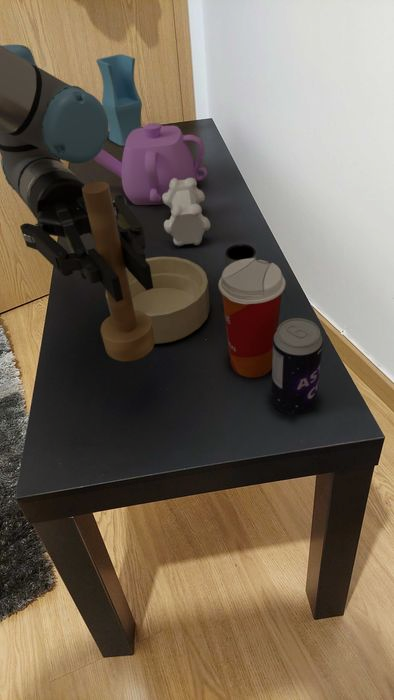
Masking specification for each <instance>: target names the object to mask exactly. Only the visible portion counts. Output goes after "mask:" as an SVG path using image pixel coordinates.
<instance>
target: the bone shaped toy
mask: <svg viewBox="0 0 394 700" xmlns="http://www.w3.org/2000/svg"><path fill="white" fill-rule="evenodd" d="M197 184H198V181H197V180H195V179H194V178H187V179H186V180H178V179H176V178H173V179H172V180H171V181H170V184H169V190H168V192H167V193H164V194H163V195H162V200H163V202H164V203H165V204H164V205H165V206H167V207H169V208H170V214H171V215H170V217H169V219H165V221H164V222H163V228H164V230H165V232H166V233H167V234H169V235H171V236H172V241H173V244H174V245H175V246H177V247H182V246H184V245H194V246H199V245H200V244H201V243H202V241H203V236H204V234H205V232H207V231H209V230H210V229H211V222H210V219H208V217H206V216H204V215H203V214H202V212H203V211H202V206H201V205H200V204H202V203H204V202H205V200H206V196H205V193H204V192H203V191H202V190H201V189H199V188H198V187H197Z"/></svg>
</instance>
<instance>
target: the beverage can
mask: <svg viewBox="0 0 394 700" xmlns="http://www.w3.org/2000/svg"><path fill="white" fill-rule="evenodd" d="M323 345H324V339H323V336H322V334H321V329H320V327H319V326H318V325H317V324H316V323H315V322H314V321H312V320H309V319H306V318H298V317H293V318H289V319H285V320H284V321H282V322H281V323H279V324H278V328H277V332H276V333H275V335H274V337H273V361H272V369H271V402H272V403H273V405H274V406H275V407H276V408H277V409H278V410H280V412H283V413H286V414H289V415H301V414H305V413H307V412H309V411H310V410H312V409H313V408H314V406H315V405H316V403H317V399H318V388H319V379H320V372H321V371H320V370H321V362H322V355H323V347H324V346H323Z"/></svg>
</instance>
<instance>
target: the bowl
mask: <svg viewBox="0 0 394 700" xmlns="http://www.w3.org/2000/svg"><path fill="white" fill-rule="evenodd" d="M146 262H147V263H148V264H149V265H150V270H151V276H152V282H153V288H152V289H149V290H146V289H145V288H144V287H143V286H142V285H141V284H140V283H139V281H138V280H137V279H136V278H135V277H134V276H133V275H132V274H131V273H130V272H129V270H128V269H127V268H126V272H127V277H128V282H129V286H130V291H131V296H132V301H133V306H134V310H137V311H141V312H143V313H145V314H147V315H148V316H149V317H150V319H151V322H152V328H153V333H154V339H155V344H154V345H156V344H157V345H159V344H168V343H172V342H176V341H179V340H182V339H183V338H185V337H188V336H189V335H191V334H193V333H194V332H195V331H197V330H198V329H200V328H201V327H202V325H203V324H204V323H205V322H206V321H207V319H208V317H209V314H210V309H211V303H210V291H209V290H210V289H209V281H208V276H207V273H206V271H205V270H204V269H203V268H202V267H201V266H200V265H198V264H197V263H195V262H193V261H191V260H189V259H185V258H181V257H178V256H154V257H146ZM105 298H106V303H107V307H108V311H109V316H111V315H112V313H111V309H110V305H109V301H108V297H107V292H106V291H105Z"/></svg>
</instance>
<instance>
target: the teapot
mask: <svg viewBox="0 0 394 700" xmlns="http://www.w3.org/2000/svg"><path fill="white" fill-rule="evenodd" d="M188 142H193V143H195V144H196V145H197V146H198V152H197V156H196V159H195V162H194V157H193V154H192V151H191V149H190V147H189V144H188ZM123 147H124V148H123V153H122V158H121V161H120V160H118V159H117V158H116V157H114V156H113V155H112V154H110V153H109V152H107V151H106V150H105V149H104V148H103V149H102V150H101V151H100V153H99V154H98V155H97V156H96V157H95V158H93V159H92V160H93V161H95V162H96V163H98V164H99V165H101V166H102V167H104V168H105V169H106V170H108V171H110V173H113V174H115V175H116V176H117V177H119V178H120V179H121V184H122V190H123V192H124V195H125V197H126V198H127V199H128V200H129V201H130V202H131V203H132V204H134V205H136V206H158V205H166V204H165V203H164V202H163V200H162V195H163V194H164V193H167V192H168V190H169V184H170V181H171V180H172V179H173V178H176V179H178V180H186V179H187V178H194V179H195V180H196V182H200V181H204V180H205V179H206V178H207V175H208V172H207V169H206V168H205V167H204V166H200V165H201V164H202V160H203V157H204V154H205V145H204V142H203V140H202V139H201V138H200V137H199V136H197V135H194V134H185V135H184V133H183V132H182V130H181V128H180V127H178V126H176V125H162V124H161V123H160V122H150V123H147V124H145V125H144V126H143V127H142V128H137V129H135V130H133V131H132V132H131V133H130V134H129V136H128V137H127V139H126V143H125V146H123ZM199 172H202V174H199Z"/></svg>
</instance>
